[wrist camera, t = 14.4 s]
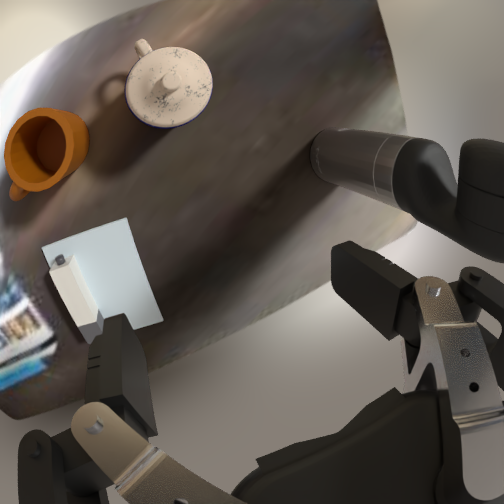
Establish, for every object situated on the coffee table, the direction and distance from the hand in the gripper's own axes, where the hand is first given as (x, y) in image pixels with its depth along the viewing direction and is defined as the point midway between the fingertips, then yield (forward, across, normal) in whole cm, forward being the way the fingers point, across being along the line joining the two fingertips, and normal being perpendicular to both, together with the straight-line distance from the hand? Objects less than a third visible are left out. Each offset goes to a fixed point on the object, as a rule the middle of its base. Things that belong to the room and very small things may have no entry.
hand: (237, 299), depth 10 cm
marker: (+30, +18, +13) cm, 37 cm away
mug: (+30, +15, -8) cm, 35 cm away
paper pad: (+30, +14, +13) cm, 36 cm away
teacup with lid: (+30, -1, -12) cm, 33 cm away
